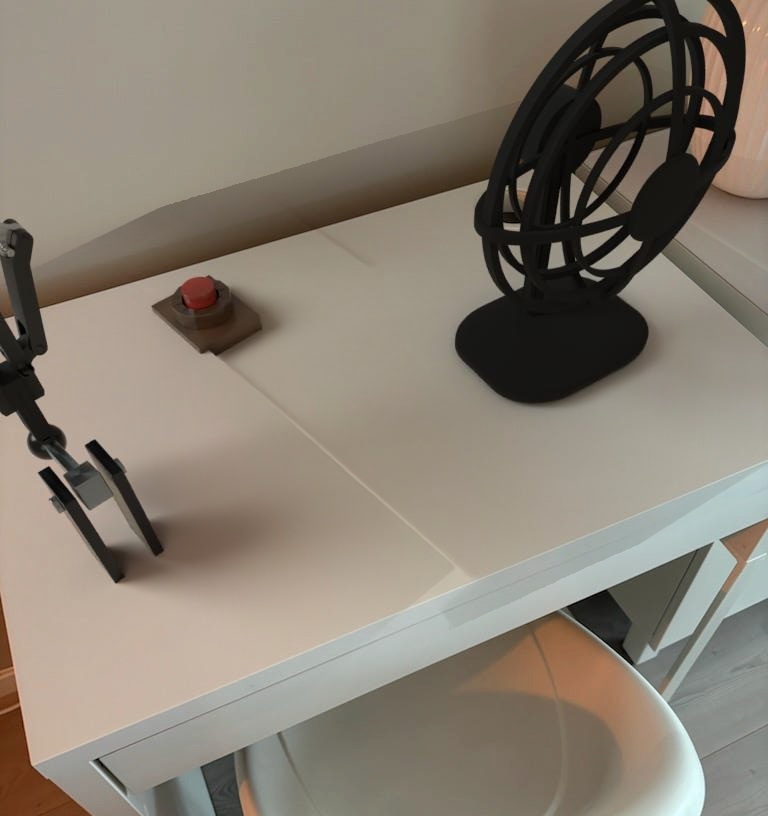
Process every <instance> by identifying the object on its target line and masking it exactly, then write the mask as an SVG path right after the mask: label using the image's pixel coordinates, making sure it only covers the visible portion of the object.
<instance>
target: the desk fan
mask: <svg viewBox="0 0 768 816" xmlns="http://www.w3.org/2000/svg"><path fill="white" fill-rule="evenodd" d="M706 1H707V2H708V4H710V5H711V6H712V8H713V9H714V10H715V12H716V13H717V15H718V17H719V19H720V22H721V24H722V26H723V29H724V32H725V33H724V34H725V35H724V34H723V33H722V32H720V31H718V30H717V29H715V28H713V27H710V26H708V25H705V24H704V23H700V22H696V21H690V20H689V19H688V18H686V17H685V16H684V15H683V14H681V13H680V11H679V6H678V5H677V2H676V0H610V1H609V2H608V3H606V4H605V5H603V6H602V7H601V8H600V9H599V10H597V11H596V12H594V14H592V15H591V16H590V17H589V18H588V19H586V21H584V22H583V23H582V24H581V25H580V26H579V27H578V28H577V29H576V30H575V31H574V32H573V33H572V34H571V35H570V36H569V37H568V39H567V40H566V41H565V42H564V43H563V44H562V45H561V46H560V47H559V48H558V50H557V51H556V52H555V53H554V54H553V55H552V57H551V58H550V59H549V61H548V62H547V63H546V65H545V66H544V68H542V70H541V71H540V73H539V74H538V76H537V77H536V79H535V80H534V82H533V83H532V85H531V86H530V88H529V90H528V91H527V92H526V94H525V95H524V97H523V99H522V101H521V103H520V104H519V106H518V108H517V110H516V112H515V113H514V115H513V117H512V119H511V121H510V124H509V126H508V127H507V130H506V132H505V134H504V136H503V138H502V140H501V143H500V146H499V148H498V151H497V153H496V156H495V159H494V162H493V165H492V168H491V171H490V174H489V178H488V182H487V186H486V189H485V190H484V192H483V193H482V194H481V196H480V197H479V198H478V200H477V202H476V204H475V206H474V213H473V228H474V230H475V232H476V234H477V235H478V236H479V237H481V247H482V254H483V258H484V263H485V267H486V269H487V271H488V274H489V276H490V279H491V280H492V282H493V284H494V285H495V287H496V288H497V289H498V290H499V291H500V292H501V293H502V294H503V295H502V296H501V297H498V298H496V299H493V300H492V301H490V302H488V303H487V302H486V303H485V304H482V305H481V306H479V307H477V308H476V309H474V310H473V311H471V312H470V313H469V314H467V315H466V316H465V317H464V318H463V320H462V321H461V322H460V323H459V324H458V326H457V329H456V332H455V334H454V335H455V336H454V349H455V352H456V353H457V356H458V357H459V358H460V359H461V361H462V362H463V363H464V364H466V365H467V366H468V367H469V368H470V369H471V370H472V371H473V372H474V373H475V374H476V375H477V376H478V377H479V378H480V379H481V380H482V381H483V382H484V383H485V384H486V385H487V386H488V387H489V388H490V389H491V390H493V392H495V393H496V394H498V395H500V396H501V397H503V398H505V399H508V400H509V401H514V402H518V403H523V404H524V403H526V404H543V403H550V402H555V401H558V400H561V399H565V398H567V397H569V396H572V395H573V394H576V393H578V392H580V391H581V390H584V389H585V388H587V387H589V386H591V385H593V384H594V383H597V382H598V381H601V380H602V379H604V378H606V377H608V376H610V375H612V374H614V373H615V372H617V371H619V370H621V369H623V368H625V367H627V366H628V365H629V364H631V363H633V361H635V360H636V359H637V358H638V357H639V356H640V355H641V353H643V350H645V347H646V344H647V343H648V338H649V334H650V333H649V332H650V330H649V325H648V322H647V320H646V318H645V317H644V315H642V313H641V312H639V311H638V309H636V308H634V307H633V306H632V305H631V304H629V303H628V302H627V301H625V300H624V299H622V298H621V297H620V296H619V294H620V293H621V292H623V291H624V289H625V288H626V287H627V286H628V285H629V284H630V283H631V281H632V280H633V279H634V277H635V276H636V275H637V274H639V273H640V272H641V271H642V270H643V269H645V268H646V267H647V266H649V264H651V263H652V262H653V261H654V259H656V258H657V257H658V256H659V255H660V254H661V253H662V252H663V251H664V250H665V248H667V246H668V245H669V244H670V243H671V242H672V241H673V240H674V238H676V236H677V235H678V234H679V233H680V231H681V230H682V229H683V228H684V226H685V225H686V224H687V223H688V221H689V220H690V219H691V217H692V216H693V214H694V213H695V211H696V210H697V208H698V207H699V205H700V204H701V202H702V201H703V199H704V197H705V196H706V195H707V192H708V190H709V189H710V186H711V185H712V183H713V181H714V179H715V178H716V176H717V174H718V173H720V171H721V170H722V169H723V168H724V166H725V165H726V164H727V163H728V161H729V159H730V157H731V156H732V152H733V150H734V146H735V144H736V140H737V132H736V130H735V128H736V124H737V121H738V116H739V112H740V106H741V101H742V99H741V98H742V93H743V88H744V81H745V74H746V66H747V65H746V64H747V46H746V35H745V29H744V26H743V22H742V19H741V16H740V13H739V11H738V9H737V7H736V6H735V4H734V3H733V0H706ZM650 3H651V4H650ZM652 3H653V4H652ZM649 19H654V20H655V19H656V20H657V19H658V20H663V24H664V25H662V26H660V27H658V28H656V29H655V28H654V29H653V30H651V31H649V32H647V33H645V34H643V35H641V36H640V37H638V38H637V39H635V40H633V41H632V42H631V43H629V44H627V45H626V46H625V47H620V46H604V44H605V42H606V40H607V37H608V36H609V34H610V33H612V32H614V31H615V30H617V29H620V28H622V27H624V26H626V25H628V24H632V23H634V22H638V21H642V20H649ZM701 38H704V39H706V40H708V41H709V42H710V43H711V44H712V45H713V46H714V47H715V49H716V50H717V51H718V53H719V55H720V58H721V60H722V62H723V66H724V70H725V71H724V72H725V78H726V80H725V81H726V84H725V89H724V94H723V101H722V102H721V101H720V98H718V96H717V95H716V94H715V93H713V92H711V91H710V90H708V89H705V87H706V77H707V75H706V74H707V73H706V70H707V69H706V68H707V67H706V57H705V50H704V46H703V43H702V40H701ZM665 43H669V50H670V59H671V78H672V79H671V81H672V88H671V89H669V90H667V91H664V92H663V93H661V94H659V95H658V96H656V97H654V88H653V87H654V86H653V81H652V80H653V79H652V75H651V73H650V70H649V67H648V66H647V63H646V62H645V61H644V60H643V59H642V56H644V55H645V54H646V53H648V52H650V51H652V50H653V49H656V48H657V47H659V46H661V45H663V44H665ZM603 46H604V47H603ZM686 47H687V50H688V54H689V59H690V67H691V70H690V71H691V82H690V83H691V84H690V85H687V55H686V53H687V52H686ZM587 50H588V52H587V53H585V52H586V51H587ZM584 53H585V54H584ZM581 55H582V56H581ZM608 57H611V58H610V59H609V60H608V61H606V63H605V64H604V65H603V66H602V67H601V68H600V69H599V70H598V71H597V72H596V73H595V74H594V75H593V71H594V68H595V66H596V63H597V60H600V59H603V58H608ZM632 63H633V64H634V66H635V67H636V69H637V70H638V72H639V74H640V78H641V81H642V86H643V87H642V88H643V105H642V107H640V108H639V109H638V110H637V111H636V112H635V113H634V114H633V115H632V116H630V117H629V119H628V120H627V121H623V122H620V123H616V124H613V125H609V126H605V127H602V123H603V122H602V120H603V116H602V108H601V105H600V104H599V102H598V100H597V99H596V98H597V97H598V96H599V95H600V94H601V92H602V91H603V90H604V89H605V88H606V87H607V86H608V84H610V83H611V82H612V81H613V80H614V79H615V78H616V77H617V76H618V75H619V74H620V73H622V72H623V70H625V69H626V68H627V67H629V66H630V65H631V64H632ZM580 70H581V72H580V74H579V79H578V82H577V86H576V88H575V87H574V86H571V85H569V84H567V83H565V82H567V81H568V80H569V79H570V78H571V77H573V76H574V75H575V74H576V73H577V72H579V71H580ZM592 75H593V76H592ZM686 97H689V100H688V105H687V109H685V106H686ZM704 99H705V100H706V101H707V102H708V103H709V105H710V107H711V109H712V112H713V115H709V114H702V113H701V110H702V106H703V100H704ZM668 103H671V114H663V115H662V114H661V115H655V116H652V114H653V113H654V112H656V111H657V110H658V109H660V108H662V107H663V106H665V105H667V104H668ZM685 110H686V113H685ZM664 128H669V135H668V143H667V150H666V155H665V161H664V162H663V163H661V164H660V165H659V166H657V168H656V169H654V171H653V172H652V173H651V174H650V175H649V176H648V178H647V179H646V180H645V181H644V182H643V184H642V186H641V187H640V189H639V191H638V192H637V194H636V196H635V198H634V200H633V202H632V205H631V208H630V210H628V211H625V212H621V213H619V214H616V215H612V216H610V217H606V218H603V219H599V220H595V221H591V222H587V223H584V222H583V221H584V220H585V219H587V218H588V217H589V216H591V214H593V213H594V212H596V211H597V210H598V209H599V208H600V207H601V206H602V205H603V204H604V203H605V202H606V201H607V200H608V199H609V198H610V197H611V196H612V194H613V193H614V192H615V191H616V189H617V188H618V187H619V185H620V184H621V183H622V182H623V180H624V179H625V177H626V176H627V174H628V173H629V171H630V169H631V168H632V166H633V164H634V162H635V160H636V158H637V156H638V155H639V152H640V150H641V148H642V145H643V143H644V141H645V138H646V136H647V132H648V130H654V129H655V130H656V129H664ZM696 128H697V129H702V130H705V131H710V132H712V136H711V138H710V140H709V143H708V145H707V147H706V150H705V152H704V155H703V157H702V159H701V161H700V162H699V161H698V159H697V157H696V156H695V155H693V154H692V153H688V152H687V151H688V149H689V146H690V144H691V142H692V139H693V136H694V133H695V132H696V131H695V130H696ZM636 132H637V133H636ZM632 133H636V135H635V138H634V141H633V142H632V146H631V147H630V150H629V152H628V154H627V156H626V158H625V160H624V162H623V163H622V165H621V166H620V169H618V171H617V173H616V174H615V176H614V177H613V179H612V180H611V181H610V183H609V184H608V185H607V186H606V188H605V189H604V190H603V191H602V192H601V194H599V195H598V196H597V197H596V198H595V200H593V201H592V202H591V203H590V204H589V200H590V198H591V196H592V193H593V191H594V188H595V186H596V184H597V183H598V181H599V179H600V176H601V175H602V173H603V170H605V168H606V166H607V164H608V163H609V161H610V159H611V158H612V157H613V156H614V154H615V153H616V151H617V150H618V149H619V147H620V146H621V144H623V142H624V141H625V140H626V139H627V137H628V136H629V135H631V134H632ZM607 139H610V140H609V142H608V143H607V144H606V145H605V148H604V149H603V150H602V152H601V153H600V154H599V156H598V158H597V159H596V161H595V163H594V164H593V166H592V168H591V170H590V172H589V174H588V175H587V178H586V180H585V182H584V184H583V186H582V189H581V191H580V194H579V197H578V199H577V202H576V205H575V209H574V213H573V216H572V217H571V187H572V175H573V173H575V172H576V171H577V170H579V168H580V167H581V166H582V165H583V164H584V163H585V161H586V160H587V159H588V158H589V156H590V154H591V153H592V152H593V149H594V147H595V145H596V143H597V142H601V141H604V140H607ZM521 161H522V162H521ZM532 170H533V172H532V175H531V177H530V181H529V184H528V186H527V190H526V193H525V196H524V200H523V205H522V208H521V206H520V202H519V196H518V179H519V178H521V177H522V176H523V175H525V174H527V173H528V172H530V171H532ZM506 188H507V189H506ZM506 190H507V191H508V198H509V199H508V200H509V203H510V205H511V209H512V211H513V214H515V216H516V218H517V219H518V220H519V221H520V223H519V230H511V229H506V228H505V224H504V223H505V222H504V203H505V197H506V196H505V194H506ZM588 204H589V205H588ZM558 206H559V222H556V219H557V211H558ZM583 223H584V224H583ZM618 228H619V229H618ZM614 229H617V231H616V232H614V234H613V235H612V236H610V237H609V238H608V239H607V240H605V241H604V242H603V243H602V244H601V245H599V246H598V247H596V248H595V249H593V250H592V251H591V252H589V253H588V254H586V255H584V253H583V247H582V238H587V237H590V236H593V235H597V234H601V233H604V232H607V231H611V230H614ZM629 236H630V237H631V239H633V240H635V241H636V242H641V244H640V247H639V248H638V249H637V250H636V251H635V252H634V253H633V254H632V255H631V256H630V257H629V258H627V259H626V260H625V261H624V262H623V263H622V264H621V265H619V266H616V267H612V268H605V269H602V268H596V267H593V265H595V264H596V263H598V262H599V261H601V260H602V259H604V258H605V257H606V256H608V255H609V254H610V253H612V252H613V251H614V250H615V249H616V248H618V247H619V246H620V245H621V244H622V243H623V242H624V241H626V239H628V237H629ZM557 243H561V249H562V256H563V261H564V265H561V266H558V267H552V268H549V264H550V257H551V250H552V245H553V244H557ZM510 246H513V247H514V246H515V247H516V246H517V247H519V253H520V258H521V262H520V261H518V259H517V258H516V257H515V256H514V254H513V252H512V251H511V248H510ZM500 255H501V256H500ZM500 257H502V258H503V260H504V261H505V262H506V263H507V264H508V265H509V266H510V267H512V268H513V269H514V271H516V272H518V274H520V275H523V276H524V279H523V286H521V287H520V288H517V289H514V288H513V286H512V285H511V284H510V283H509V281H508V279H507V277H506V275H505V273H504V269H503V267H502V263H501V258H500ZM582 271H586V272H587V273H588V274H589V275H592V276H594V277H596V278H601V279H600V280H598V281H597V280H595V279H593V278H590V277H585V276H582V275H581V272H582Z"/></svg>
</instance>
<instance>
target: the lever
mask: <svg viewBox="0 0 768 816" xmlns="http://www.w3.org/2000/svg"><path fill="white" fill-rule="evenodd" d="M49 425H50V427H51V428H52V430H53V432H54V434H53V435H51V436H49V437H47V438H46V439H44V440H42V441H40V442H39V443H38V441H37V440H36V439H35V438H34V436H33V435H32V434H31V433H30V432H29V431H28V433H27V437H26V446H27V449H28V451H29V452H30V454H31V455H33V456H34V457H35V458H37V459H39V460H43V461H54V462H55V463H56V464H57V465H58V466H59V467H60V468H61V469H62V471H64V474H62V477H63V478H64V480H65V481H66V483H67V484H68V486H69V487H70V489H71V490H72V492H73V494H74V496H76V498H77V499H78V500H79V501H80V502H81V503H82V504H83V506H85V508H86V509H87V510H88V511H93V510H94V509H95V508H98V506H100V505H102V504H103V503H105V502H107V501H108V500H110V499H112V498H113V496H114V494H113V493H112V491H111V489H110V488H109V486H108V485H107V483H106V481H105V480H104V478H103V477H102V475H101V473H100V472H99V471H98V469H97V467H96V466H95V465H93V464H92V463H91V462H90V461H88V460H85V461H84V462H83V461H82V462H81V463H79V462H77V460H76V459H75V458H74V457H72V455H71V454H70V453H69V452H68V451H67V450H66V449H67V446H68V439H67V436H66V434H65V432H64V431H63V430H62V428H61V427H59V426H57V425H56V424H52V423H49Z"/></svg>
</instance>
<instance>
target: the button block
mask: <svg viewBox="0 0 768 816" xmlns="http://www.w3.org/2000/svg"><path fill="white" fill-rule="evenodd" d="M205 277H207V278H209V279H211V280H212V281H213V283H214V286H215V290H216V294H217V301H216V303H215V304H213V305H211V306H210V307H208V308H204V309H198V310H195V309H190V308H188V307H187V306H186V304H185V301H184V298H183V295H182V292H181V287H182V285H180V286H177V287H178V288H176V290H175V291H174V293H172V294H170V295H169V296H166V297H165V298H163V299H161V300H160V301H158V302H157V301H156V303H154V304H152V305H150V307H151V310H152V312H153V313H154V314H155V315H156V316H157V317H158V318H160V319H161V320H162V321H163V322H164V323H165V324H166V325H168V327H170V329H172V330H173V331H174V332H175V333H176V334H177V335H179V336H180V337H181V338H182V339H183V340H184V341H186V343H187V344H188V345H190V346H191V347H192V348H193V349H194V350H195V351H197V353H199V355H202V354H204V353H206V352H208V351H209V352H210V353H212V354H213V355H214V356H215V357H218V356H219V355H221V354H223V353H224V352H226V351H228V350H229V349H232V348H233V347H235V346H237V345H238V344H240V343H241V342H243V341H245V340H247V339H249V338H250V337H252V336H253V335H256V334H257V333H259V332H260V331H262V330H263V327H262V321H261V318H260V313H258V312H257V311H256V310H254V309H253V308H252V307H250V306H249V305H248V304H247V303H245V301H243V300H241V299H240V298H239V297H238V296H237V295H235V294H234V293H233V292H232V291H231V290H230V287H229V286H228V285H226V283H224V282H223V281H221V280H219V279H215V278H214V277H212V276H211V275H210V274H208V275H206V276H205Z"/></svg>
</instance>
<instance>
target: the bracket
mask: <svg viewBox="0 0 768 816" xmlns="http://www.w3.org/2000/svg"><path fill="white" fill-rule="evenodd" d="M84 448H85V450H86V451H87V454H88V455H89V457H90V459H91V460H92V462H93V464H94V467H95V468H96V469H97V470H98V471H99V472H100V473H101V475H102V477H103V478H104V480H105V481H106V483H107V485H108V486H109V488H110V489H111V491H112V493H113V494H114V496H113V497H112V498H113V500H114V502H115V503H116V505H117V507H118V508H119V510H120V512H121V513H122V515H123V517H124V519H125V521H126V522H127V524H128V526H129V528H130V529H131V530H132V532H133V533H134V534H135V535H136V536H137V537H138V538H139V540H140V541H141V542H142V543H143V544H144V545H145V547H146V548H147V549H148V550H149V551H150V553H151V554H152V555H153V556H154V557H157V556H158V555H160V554H162V553H163V552H165V548H164V546H163V545H162V542H161V540H160V538H159V537H158V535H157V533H156V531H155V529H154V527H153V525H152V523H151V521H150V520H149V517H148V515H147V514H146V512H145V510H144V508H143V506H142V504H141V502H140V500H139V498H138V497H137V495H136V492H135V491H134V489H133V487H132V485H131V483H130V481H129V479H128V477H127V475H126V474H127V472H128V471H127V469H126V467H125V465H124V464H123V463H122V461H121V460H120V459H119V458H118V457H115V458H113V457H112V456H111V455H110V454H109V452H108V451H107V450H105V448H104V447H103V446H102V445H101V444H100V443H99V441H98V440H97V439H92V440H91V441H88V442H87V443H85V444H84ZM37 474H38V476H39V477H40V479H41V481H42V482H43V484H44V485H45V486H46V488H47V489H48V491H49V492H50V494H51V495H52V496H51V497H49V498H48V502H49V503H50V504H51V505H52V507H53V508H54V509H55V511H56V512H57V513H58V514H59V515H60V514H62V513H64V514H65V516H66V518H67V519H68V521H69V522H70V523H71V525H72V526H73V528H74V529H75V531H76V532H77V534H78V536H79V537H80V538H81V540H82V541H83V543H84V544H85V546H86V547H87V549H88V550H89V552H90V553H91V555H92V556H93V557H94V559H95V560H96V561H97V562H98V563H99V565H100V566H101V567H102V568H103V570H104V572H105V573H106V574H107V575H108V576H109V577H110V579H111V581H113V583H114V584H117V583H119V582H120V581H122V580H124V579H126V575H125V574H124V572H123V570H122V569H121V567H120V566H119V564H118V562H117V561H116V559H115V558H114V556H113V555H112V553H111V551H110V550H109V549H108V547H107V545H106V544H105V542H104V541H103V539H102V537H101V536H100V534H99V532H98V531H97V529H96V528H95V526H94V525H93V523H92V522H91V520H90V518H89V517H88V515H87V513H86V512H85V510H84V509H83V507H82V506H81V504H80V503H79V501H78V500H77V499H78V498H77V497H75V495H74V493H72V492H71V491H70V489H69V488H68V486H66V484H65V483H64V482H63V481H62V480H61V479H60V477H59V476H58V474H57V473H56V472H55V471H54V470H53V468H52V467H51V466H50V465H48V466H46V467H45V468H43V469H41V470H39V471H38V472H37Z"/></svg>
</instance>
